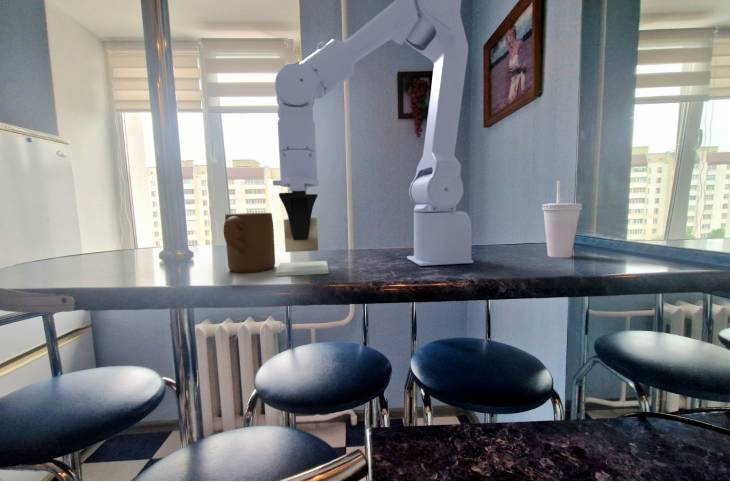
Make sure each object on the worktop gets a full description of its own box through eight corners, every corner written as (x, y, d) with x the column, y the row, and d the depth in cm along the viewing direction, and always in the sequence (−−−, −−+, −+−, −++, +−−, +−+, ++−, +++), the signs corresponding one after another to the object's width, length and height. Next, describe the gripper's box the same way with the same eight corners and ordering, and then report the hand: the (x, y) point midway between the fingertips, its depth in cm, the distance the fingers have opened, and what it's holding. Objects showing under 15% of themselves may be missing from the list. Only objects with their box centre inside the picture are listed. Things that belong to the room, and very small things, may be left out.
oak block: (317, 246, 55) (316, 217, 55) (318, 250, 51) (316, 218, 50) (288, 248, 55) (286, 218, 54) (285, 252, 50) (283, 219, 49)
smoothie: (547, 252, 65) (550, 181, 63) (584, 255, 60) (588, 179, 58) (533, 256, 61) (536, 180, 59) (572, 260, 56) (576, 178, 54)
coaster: (326, 264, 58) (326, 260, 57) (328, 273, 50) (328, 269, 50) (280, 266, 56) (280, 263, 56) (275, 276, 48) (274, 272, 48)
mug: (256, 279, 46) (252, 214, 45) (204, 280, 47) (199, 215, 46) (281, 264, 58) (278, 212, 57) (240, 265, 59) (236, 213, 58)
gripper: (276, 159, 57) (280, 235, 59) (264, 143, 43) (270, 244, 45) (316, 159, 58) (319, 233, 60) (317, 143, 44) (321, 242, 46)
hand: (301, 238), depth 52 cm, fingers closed on oak block, 5 cm apart
